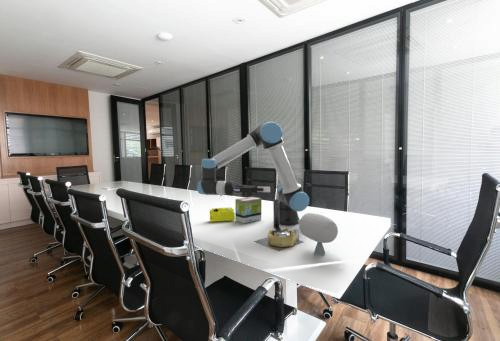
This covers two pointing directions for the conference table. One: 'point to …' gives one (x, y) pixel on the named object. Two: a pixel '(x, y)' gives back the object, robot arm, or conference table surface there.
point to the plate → (265, 242)
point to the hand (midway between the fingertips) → (270, 189)
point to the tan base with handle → (275, 239)
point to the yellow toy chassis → (222, 214)
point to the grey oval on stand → (318, 230)
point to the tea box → (248, 209)
